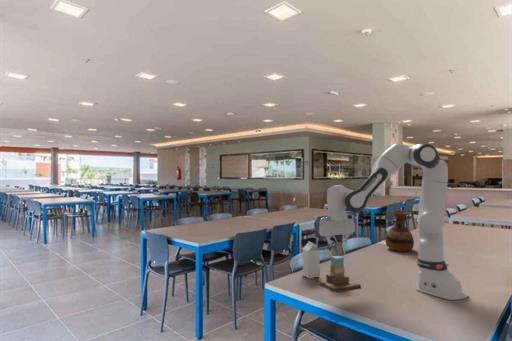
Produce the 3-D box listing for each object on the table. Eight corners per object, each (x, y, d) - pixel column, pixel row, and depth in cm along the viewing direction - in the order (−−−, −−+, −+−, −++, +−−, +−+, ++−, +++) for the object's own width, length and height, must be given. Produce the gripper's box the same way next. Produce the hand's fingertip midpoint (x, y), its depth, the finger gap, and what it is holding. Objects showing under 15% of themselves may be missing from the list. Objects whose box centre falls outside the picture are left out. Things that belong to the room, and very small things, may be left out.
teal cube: (343, 266, 161) (343, 257, 161) (336, 267, 160) (336, 258, 160) (338, 264, 165) (338, 255, 166) (331, 265, 164) (330, 256, 164)
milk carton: (308, 278, 172) (307, 243, 172) (302, 275, 178) (302, 241, 179) (319, 277, 174) (319, 243, 174) (314, 274, 180) (313, 240, 181)
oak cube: (344, 276, 161) (344, 266, 161) (336, 277, 159) (336, 267, 159) (338, 273, 166) (338, 264, 166) (330, 274, 164) (330, 265, 164)
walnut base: (360, 287, 158) (360, 278, 158) (334, 291, 152) (334, 282, 152) (340, 278, 173) (340, 269, 173) (315, 281, 167) (315, 273, 167)
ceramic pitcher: (387, 251, 234) (386, 211, 235) (384, 246, 254) (383, 209, 255) (416, 253, 229) (415, 212, 230) (411, 247, 248) (410, 209, 249)
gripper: (323, 218, 156) (324, 246, 156) (356, 215, 164) (357, 242, 164) (316, 217, 162) (317, 244, 162) (348, 214, 170) (349, 240, 170)
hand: (337, 243), depth 163 cm, fingers open, 8 cm apart
